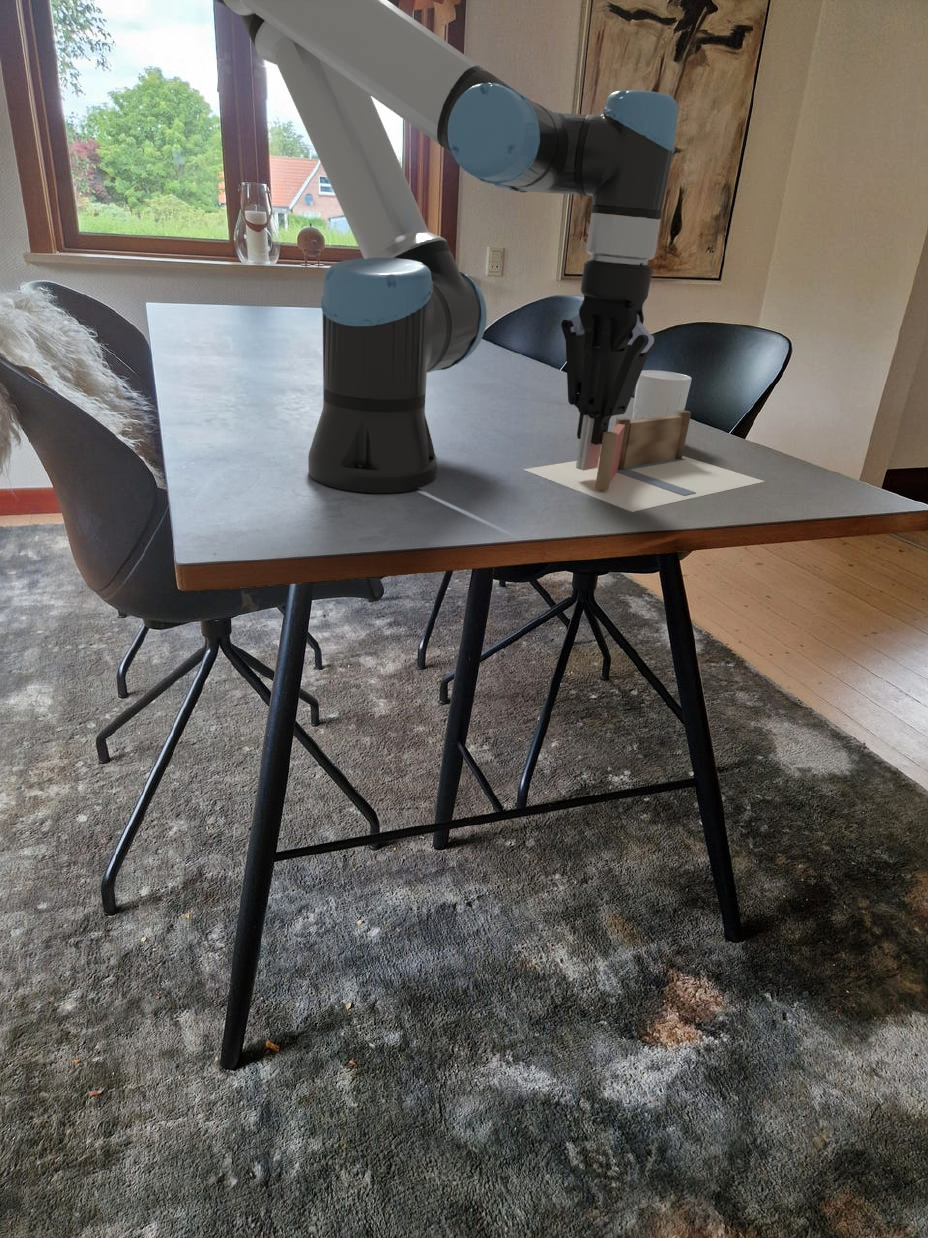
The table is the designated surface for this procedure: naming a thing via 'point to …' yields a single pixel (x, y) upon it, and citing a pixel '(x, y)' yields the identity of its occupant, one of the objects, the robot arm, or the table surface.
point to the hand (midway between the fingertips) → (586, 467)
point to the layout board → (648, 482)
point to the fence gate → (609, 456)
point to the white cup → (660, 394)
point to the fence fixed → (653, 439)
